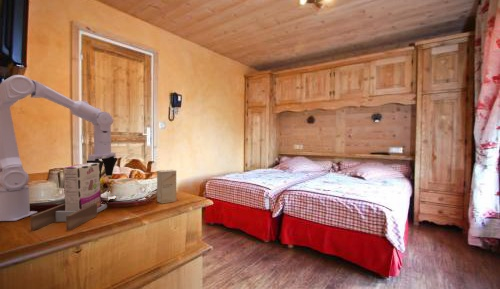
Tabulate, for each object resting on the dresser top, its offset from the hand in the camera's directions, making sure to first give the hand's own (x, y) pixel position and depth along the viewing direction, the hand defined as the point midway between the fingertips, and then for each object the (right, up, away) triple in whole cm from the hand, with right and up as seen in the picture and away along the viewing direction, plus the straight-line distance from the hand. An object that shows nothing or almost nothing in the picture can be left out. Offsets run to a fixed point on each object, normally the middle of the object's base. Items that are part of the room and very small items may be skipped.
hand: (103, 177), depth 95 cm
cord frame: (+4, -10, -11) cm, 15 cm away
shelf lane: (+4, -10, -23) cm, 26 cm away
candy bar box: (+4, -10, -17) cm, 20 cm away
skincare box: (+25, -10, -1) cm, 27 cm away
